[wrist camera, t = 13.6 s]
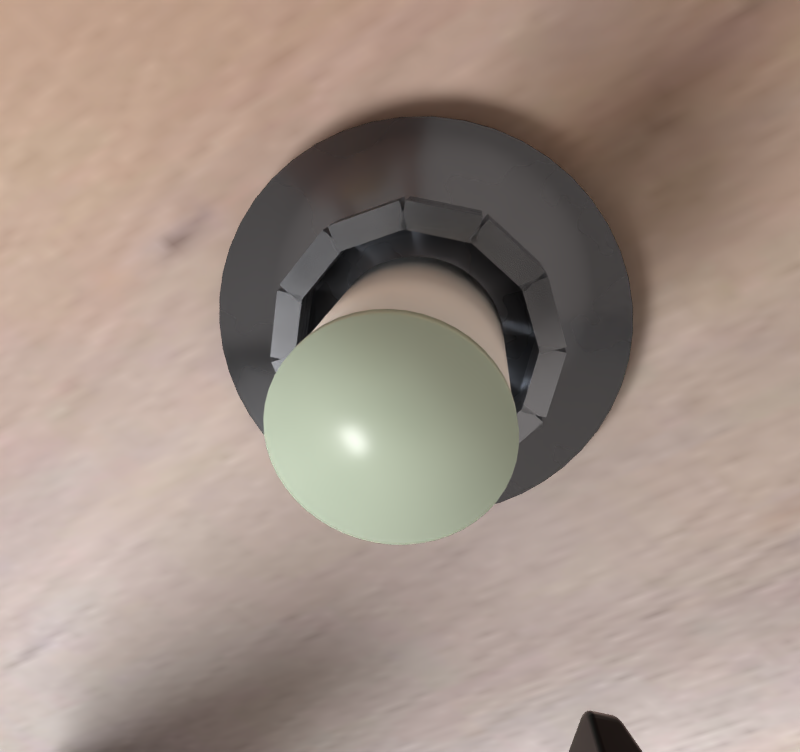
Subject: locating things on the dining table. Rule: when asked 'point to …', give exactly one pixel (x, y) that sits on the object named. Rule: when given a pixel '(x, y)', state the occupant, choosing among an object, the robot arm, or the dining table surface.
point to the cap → (397, 407)
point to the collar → (448, 241)
